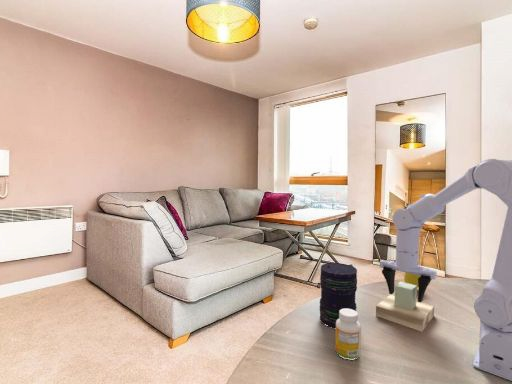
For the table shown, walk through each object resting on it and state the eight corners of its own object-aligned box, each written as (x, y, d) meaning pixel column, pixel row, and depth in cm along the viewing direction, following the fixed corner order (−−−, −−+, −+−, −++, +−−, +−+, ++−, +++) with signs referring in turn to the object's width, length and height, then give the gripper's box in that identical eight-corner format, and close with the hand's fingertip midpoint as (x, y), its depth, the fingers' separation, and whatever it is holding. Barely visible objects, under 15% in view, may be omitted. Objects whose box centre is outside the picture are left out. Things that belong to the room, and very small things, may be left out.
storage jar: (360, 318, 81) (361, 266, 80) (350, 334, 72) (352, 277, 72) (326, 309, 86) (327, 260, 85) (313, 323, 78) (314, 269, 77)
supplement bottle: (340, 344, 68) (341, 304, 68) (363, 352, 65) (364, 311, 64) (331, 354, 64) (332, 312, 64) (354, 364, 61) (356, 320, 60)
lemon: (403, 290, 101) (404, 268, 101) (403, 285, 106) (404, 264, 106) (421, 293, 99) (422, 270, 98) (421, 288, 103) (421, 266, 103)
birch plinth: (422, 331, 74) (422, 320, 74) (375, 315, 82) (376, 305, 82) (433, 316, 82) (434, 305, 82) (390, 302, 91) (391, 293, 91)
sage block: (411, 310, 79) (412, 289, 79) (394, 305, 82) (395, 285, 82) (416, 305, 82) (416, 285, 82) (399, 301, 85) (400, 281, 85)
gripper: (439, 252, 79) (437, 300, 80) (386, 244, 89) (384, 286, 90) (433, 257, 74) (431, 308, 75) (377, 247, 84) (376, 292, 85)
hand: (405, 297), depth 82 cm, fingers open, 7 cm apart
